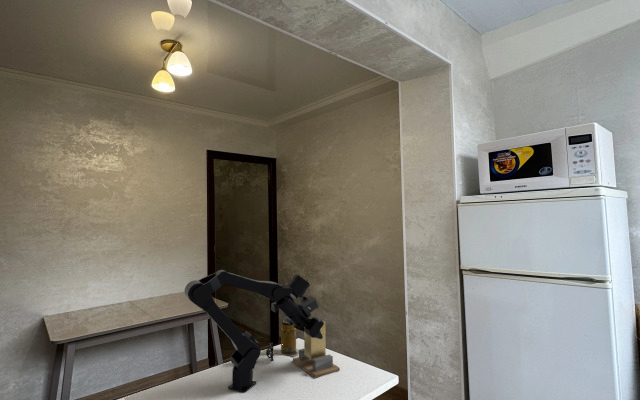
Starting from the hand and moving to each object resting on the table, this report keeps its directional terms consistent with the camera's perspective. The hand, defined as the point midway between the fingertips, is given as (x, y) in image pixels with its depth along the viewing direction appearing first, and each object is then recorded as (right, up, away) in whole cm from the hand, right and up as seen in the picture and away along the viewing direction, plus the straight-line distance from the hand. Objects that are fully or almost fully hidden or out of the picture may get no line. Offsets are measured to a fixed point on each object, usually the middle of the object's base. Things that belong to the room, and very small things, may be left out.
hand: (318, 335), depth 118 cm
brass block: (-1, -7, -1) cm, 7 cm away
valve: (-23, -11, +2) cm, 25 cm away
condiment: (-11, -12, +11) cm, 20 cm away
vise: (-1, -10, -1) cm, 10 cm away
